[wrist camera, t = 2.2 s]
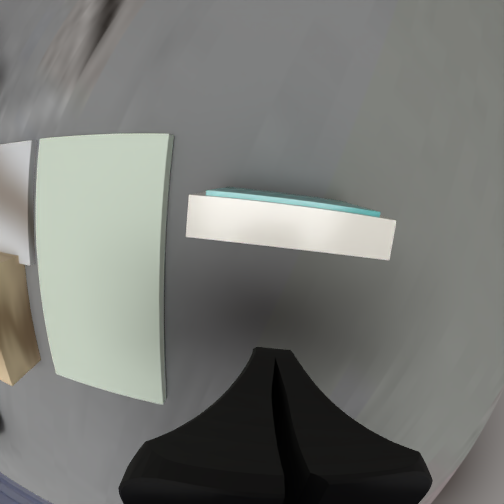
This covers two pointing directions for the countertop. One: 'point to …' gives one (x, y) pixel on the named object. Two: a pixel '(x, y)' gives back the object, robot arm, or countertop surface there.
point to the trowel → (16, 260)
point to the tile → (289, 222)
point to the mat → (105, 258)
